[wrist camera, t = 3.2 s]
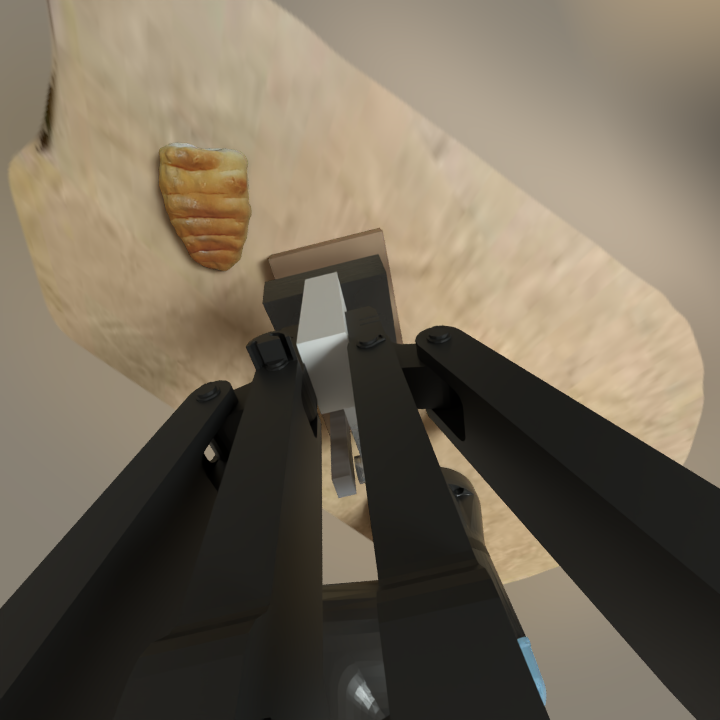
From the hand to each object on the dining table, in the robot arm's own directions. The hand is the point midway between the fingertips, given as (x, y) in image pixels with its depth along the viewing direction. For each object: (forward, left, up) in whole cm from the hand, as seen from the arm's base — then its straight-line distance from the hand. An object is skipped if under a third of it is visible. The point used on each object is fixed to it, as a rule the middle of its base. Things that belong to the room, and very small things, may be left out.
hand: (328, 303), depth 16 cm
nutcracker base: (-10, 0, -17) cm, 19 cm away
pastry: (+5, +8, -17) cm, 20 cm away
